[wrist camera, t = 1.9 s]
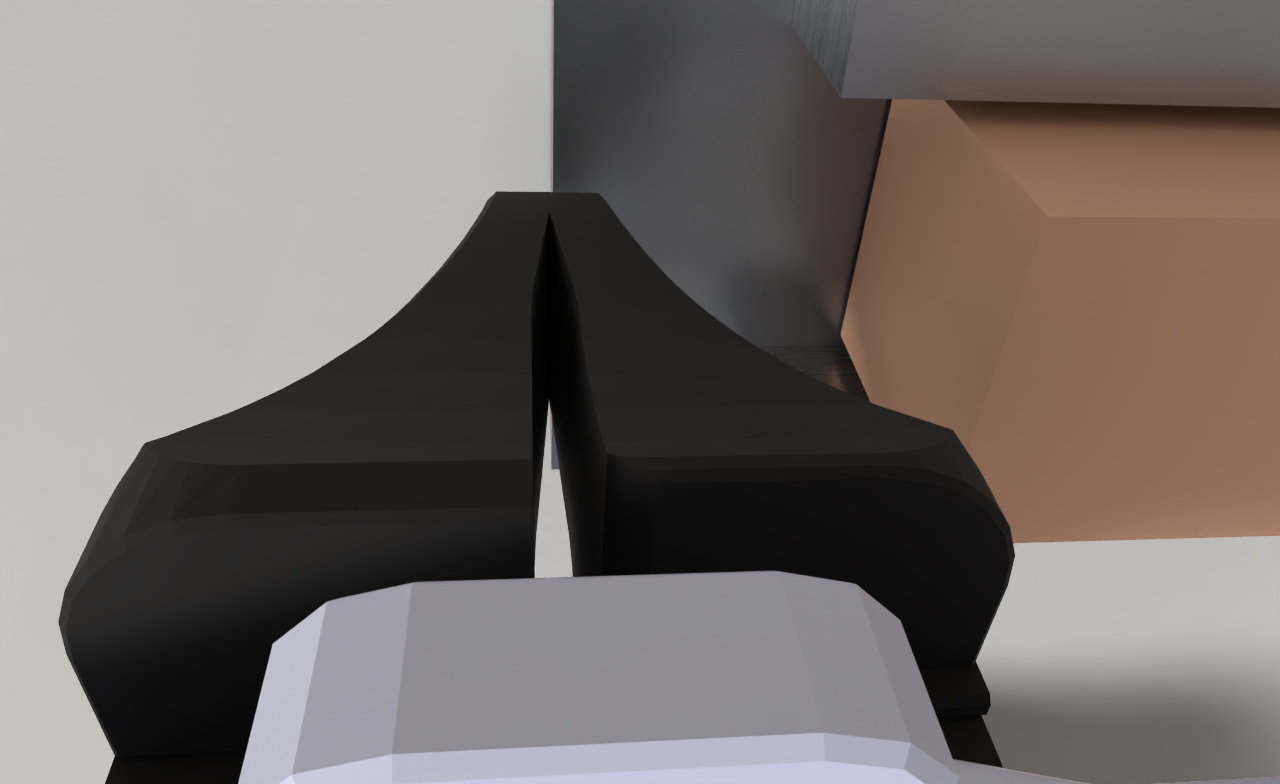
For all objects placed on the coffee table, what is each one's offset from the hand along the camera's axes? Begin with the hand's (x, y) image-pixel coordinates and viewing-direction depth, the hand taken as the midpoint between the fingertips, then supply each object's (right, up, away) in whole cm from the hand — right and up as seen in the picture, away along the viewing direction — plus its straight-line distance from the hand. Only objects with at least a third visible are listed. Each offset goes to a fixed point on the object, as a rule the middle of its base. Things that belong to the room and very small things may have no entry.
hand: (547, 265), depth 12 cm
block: (+7, +1, +2) cm, 7 cm away
